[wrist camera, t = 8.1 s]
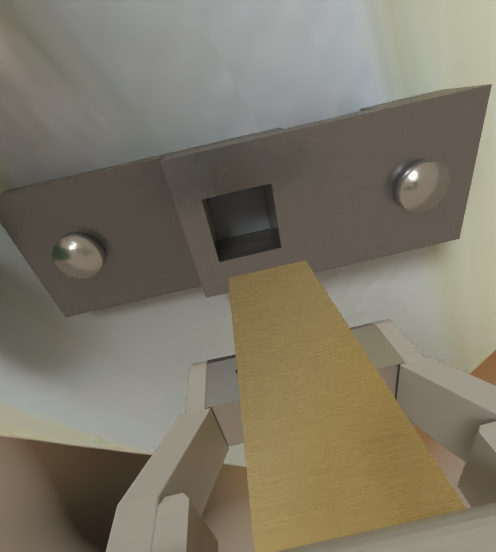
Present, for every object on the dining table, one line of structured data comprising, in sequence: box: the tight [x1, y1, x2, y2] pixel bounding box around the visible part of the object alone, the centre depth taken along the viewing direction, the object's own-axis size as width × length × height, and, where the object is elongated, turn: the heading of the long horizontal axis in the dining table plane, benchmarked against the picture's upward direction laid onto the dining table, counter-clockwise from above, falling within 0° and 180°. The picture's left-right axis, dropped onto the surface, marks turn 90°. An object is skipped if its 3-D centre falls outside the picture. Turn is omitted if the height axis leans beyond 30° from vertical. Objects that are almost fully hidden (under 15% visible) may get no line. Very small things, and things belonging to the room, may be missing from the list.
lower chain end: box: [0, 128, 283, 317], centre depth 21 cm, size 20×10×3 cm, turn 101°
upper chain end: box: [160, 84, 492, 298], centre depth 20 cm, size 20×10×5 cm, turn 101°
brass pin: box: [228, 260, 466, 552], centre depth 8 cm, size 3×3×8 cm
